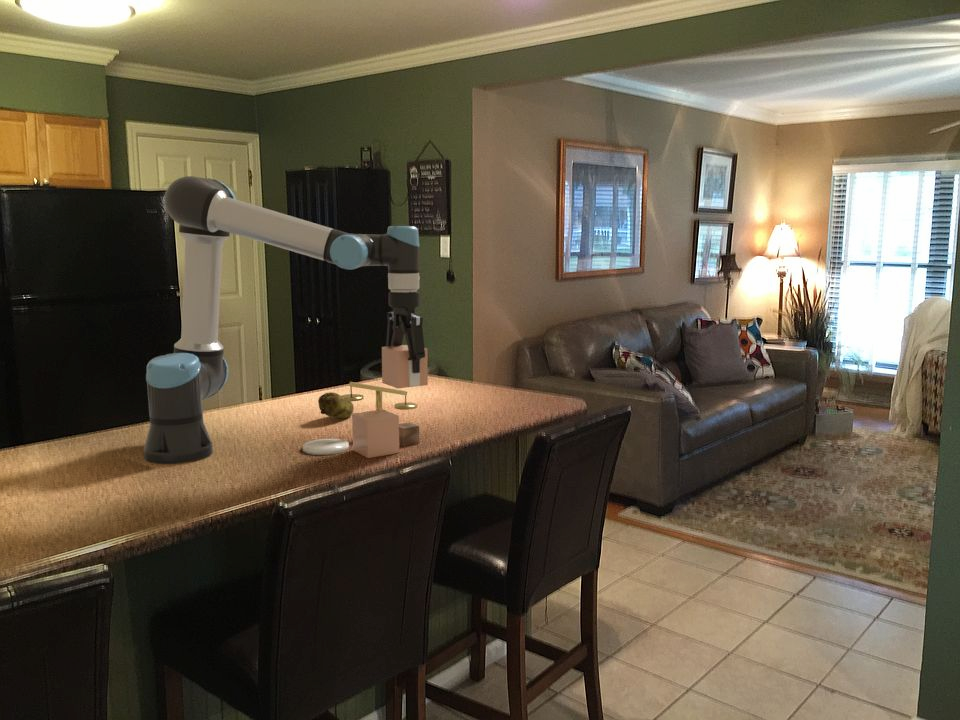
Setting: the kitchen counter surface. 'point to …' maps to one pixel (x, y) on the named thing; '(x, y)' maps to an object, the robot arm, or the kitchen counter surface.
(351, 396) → the balance
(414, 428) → the gray metal block
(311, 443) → the dish
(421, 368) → the peach pink cube
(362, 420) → the tan cardboard-like box
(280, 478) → the kitchen counter surface
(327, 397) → the potato
